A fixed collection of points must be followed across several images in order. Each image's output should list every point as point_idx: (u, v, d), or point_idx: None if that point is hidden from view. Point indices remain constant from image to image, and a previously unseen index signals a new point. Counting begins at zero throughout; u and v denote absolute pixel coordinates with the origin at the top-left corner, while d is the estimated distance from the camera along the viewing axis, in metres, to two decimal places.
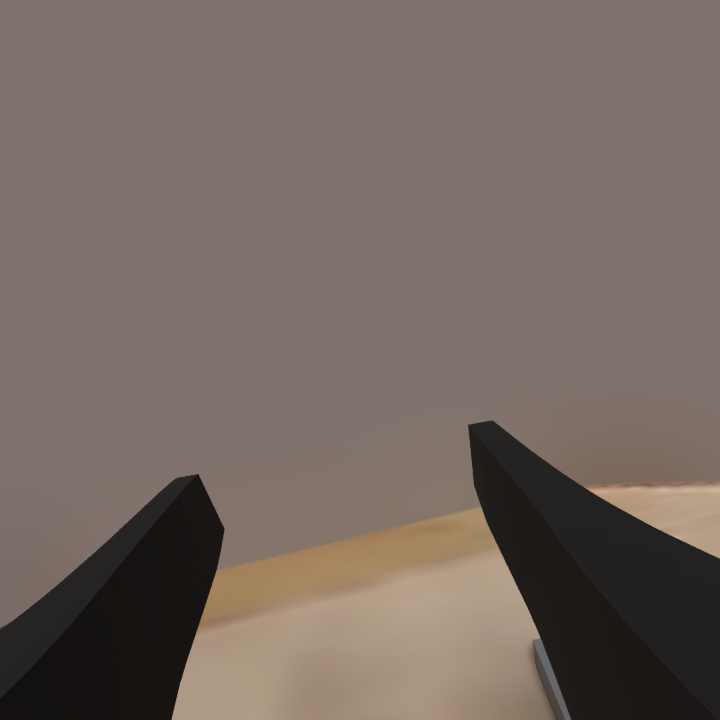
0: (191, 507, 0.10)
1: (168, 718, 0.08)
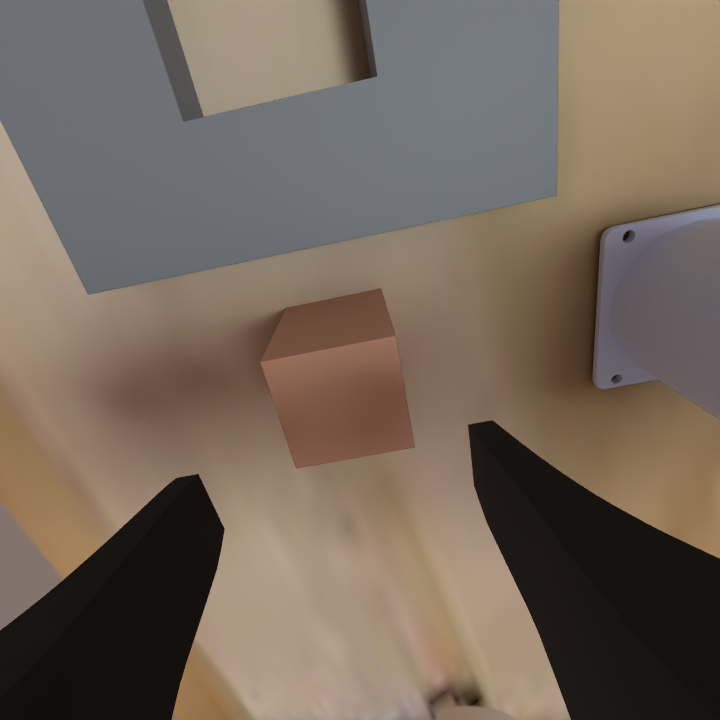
0: (191, 507, 0.10)
1: (168, 718, 0.08)
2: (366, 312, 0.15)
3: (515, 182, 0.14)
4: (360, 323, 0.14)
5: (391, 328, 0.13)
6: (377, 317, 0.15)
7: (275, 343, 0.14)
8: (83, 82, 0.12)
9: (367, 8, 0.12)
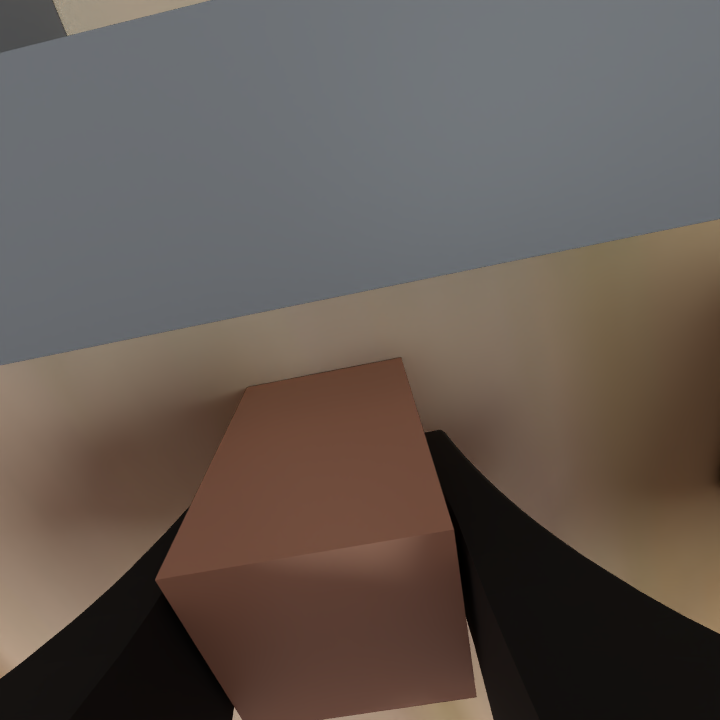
0: None
1: (231, 709, 0.08)
2: (381, 425, 0.08)
3: (678, 185, 0.07)
4: (370, 461, 0.07)
5: (439, 493, 0.06)
6: (404, 446, 0.08)
7: (204, 501, 0.07)
8: None
9: None
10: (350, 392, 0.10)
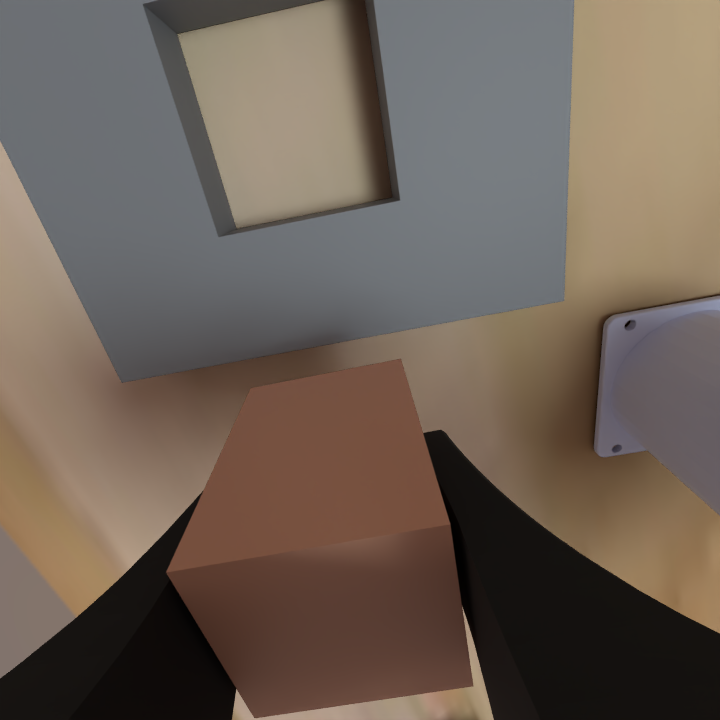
0: None
1: (230, 709, 0.08)
2: (381, 425, 0.09)
3: (525, 289, 0.15)
4: (370, 458, 0.08)
5: (436, 490, 0.07)
6: (404, 445, 0.08)
7: (212, 498, 0.08)
8: (127, 204, 0.13)
9: (392, 143, 0.13)
10: (351, 393, 0.10)
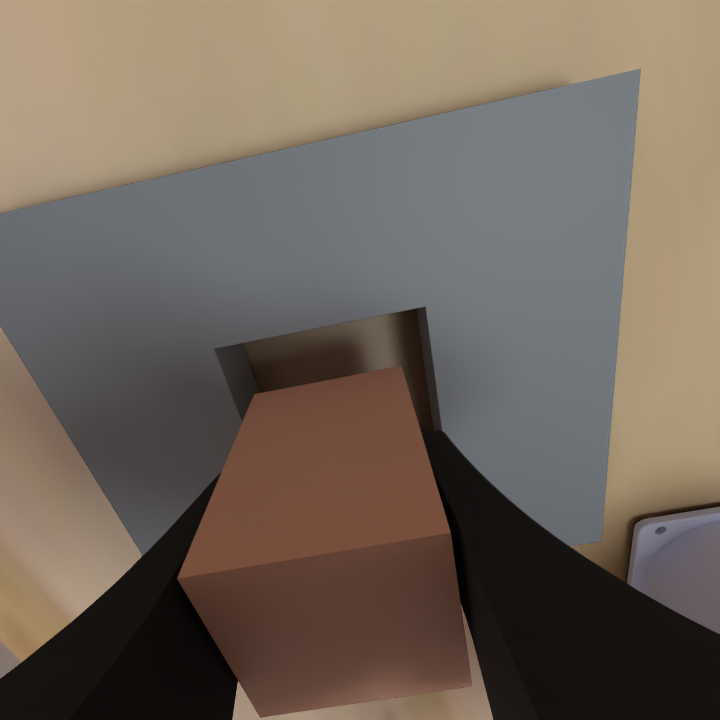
0: None
1: (231, 709, 0.08)
2: (383, 432, 0.09)
3: (564, 534, 0.16)
4: (373, 467, 0.08)
5: (437, 499, 0.07)
6: (405, 453, 0.08)
7: (219, 505, 0.08)
8: (190, 486, 0.14)
9: None
10: (353, 400, 0.10)
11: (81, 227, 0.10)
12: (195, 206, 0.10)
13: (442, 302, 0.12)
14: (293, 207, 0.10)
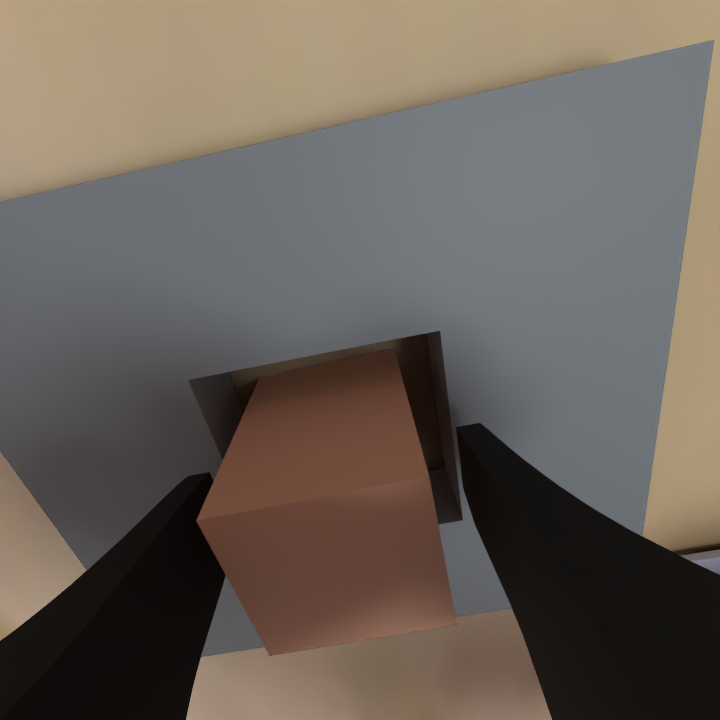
0: None
1: (183, 716, 0.08)
2: (375, 402, 0.10)
3: None
4: (365, 430, 0.09)
5: (419, 451, 0.08)
6: (394, 418, 0.09)
7: (230, 465, 0.09)
8: None
9: (457, 475, 0.12)
10: (349, 378, 0.11)
11: (21, 237, 0.09)
12: (160, 211, 0.08)
13: (460, 325, 0.10)
14: (280, 212, 0.08)
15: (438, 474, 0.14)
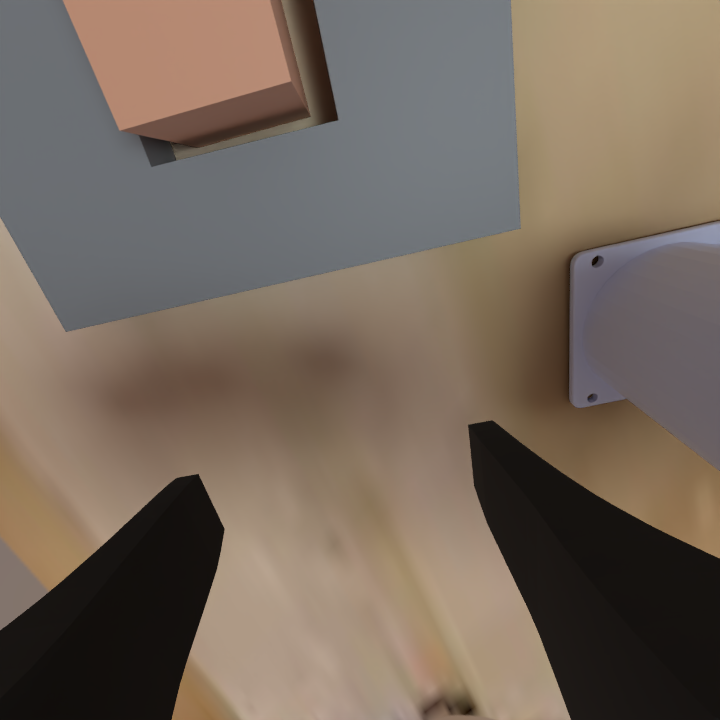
0: (191, 507, 0.10)
1: (168, 718, 0.08)
2: None
3: (478, 216, 0.14)
4: None
5: None
6: None
7: None
8: (52, 132, 0.13)
9: (325, 56, 0.12)
10: None
11: None
12: None
13: None
14: None
15: None
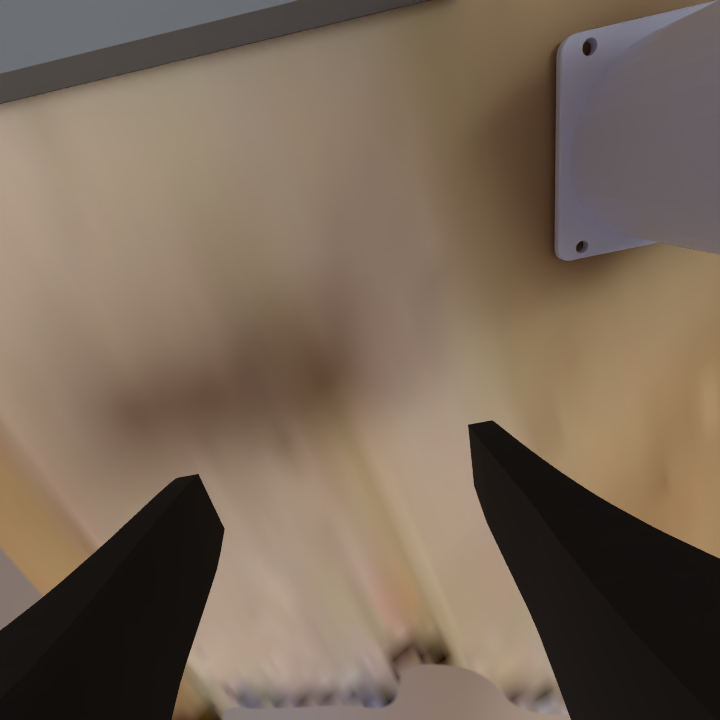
0: (192, 506, 0.10)
1: (168, 718, 0.08)
2: None
3: None
4: None
5: None
6: None
7: None
8: None
9: None
10: None
11: None
12: None
13: None
14: None
15: None
